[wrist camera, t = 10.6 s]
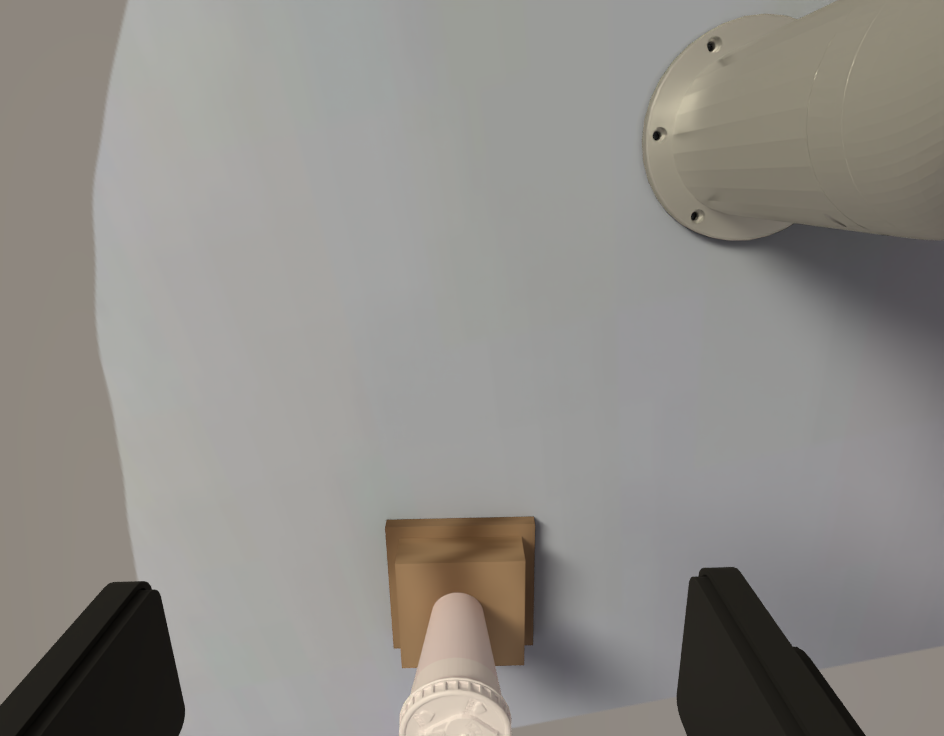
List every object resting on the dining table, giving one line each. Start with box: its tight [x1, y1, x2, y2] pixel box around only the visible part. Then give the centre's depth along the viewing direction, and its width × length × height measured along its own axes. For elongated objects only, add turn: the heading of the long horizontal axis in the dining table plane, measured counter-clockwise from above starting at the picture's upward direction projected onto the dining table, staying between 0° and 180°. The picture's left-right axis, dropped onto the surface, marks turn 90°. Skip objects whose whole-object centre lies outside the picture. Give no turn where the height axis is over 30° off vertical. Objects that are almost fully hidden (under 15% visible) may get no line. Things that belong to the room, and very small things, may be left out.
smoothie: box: [399, 593, 512, 736], centre depth 35 cm, size 6×6×14 cm
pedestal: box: [385, 517, 535, 668], centre depth 44 cm, size 11×11×4 cm
